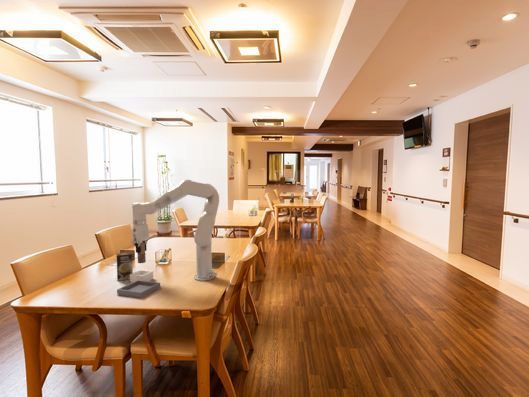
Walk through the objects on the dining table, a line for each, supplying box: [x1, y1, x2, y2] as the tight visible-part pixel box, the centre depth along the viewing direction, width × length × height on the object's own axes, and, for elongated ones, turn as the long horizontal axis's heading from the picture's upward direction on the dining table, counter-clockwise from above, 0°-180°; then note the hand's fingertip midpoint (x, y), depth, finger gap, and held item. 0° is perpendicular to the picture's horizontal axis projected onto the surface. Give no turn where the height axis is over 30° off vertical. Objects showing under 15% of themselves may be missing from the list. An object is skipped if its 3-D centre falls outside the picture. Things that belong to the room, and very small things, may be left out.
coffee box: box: [115, 252, 134, 282], centre depth 192 cm, size 9×6×16 cm
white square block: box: [129, 269, 154, 283], centre depth 189 cm, size 10×10×5 cm
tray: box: [116, 280, 161, 299], centre depth 171 cm, size 16×16×3 cm
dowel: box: [136, 241, 147, 264], centre depth 188 cm, size 4×4×12 cm
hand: (141, 251), depth 187 cm, fingers closed on dowel, 4 cm apart
